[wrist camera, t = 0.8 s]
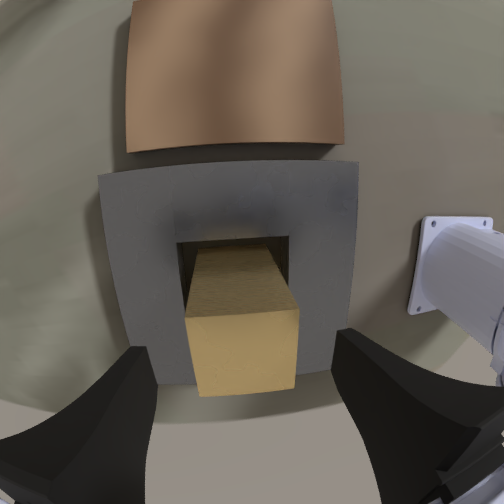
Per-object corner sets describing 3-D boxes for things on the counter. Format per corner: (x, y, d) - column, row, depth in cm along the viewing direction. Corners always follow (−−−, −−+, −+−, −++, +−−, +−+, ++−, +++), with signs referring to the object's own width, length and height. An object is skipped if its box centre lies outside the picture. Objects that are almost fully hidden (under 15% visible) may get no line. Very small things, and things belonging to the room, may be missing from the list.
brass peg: (265, 243, 17) (299, 308, 10) (266, 302, 19) (294, 388, 11) (198, 248, 17) (184, 317, 9) (204, 306, 18) (199, 396, 11)
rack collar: (343, 161, 16) (358, 162, 14) (330, 352, 21) (338, 367, 19) (111, 173, 15) (97, 175, 13) (147, 366, 19) (142, 384, 17)
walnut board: (325, 7, 13) (331, -1, 12) (336, 144, 16) (344, 144, 15) (137, 9, 12) (133, 1, 10) (133, 153, 15) (126, 152, 14)
